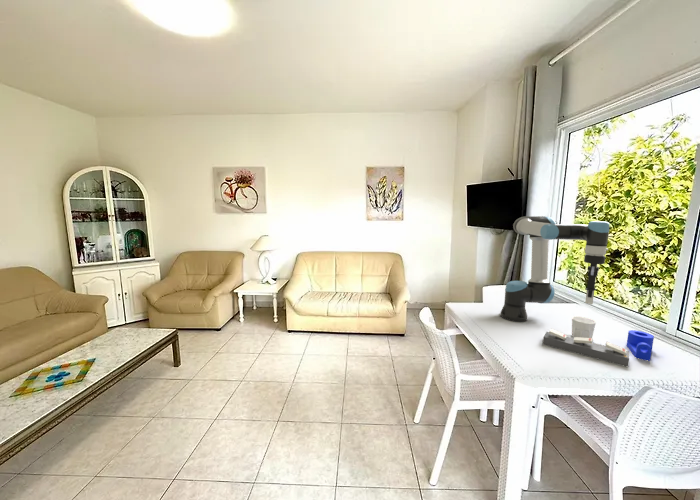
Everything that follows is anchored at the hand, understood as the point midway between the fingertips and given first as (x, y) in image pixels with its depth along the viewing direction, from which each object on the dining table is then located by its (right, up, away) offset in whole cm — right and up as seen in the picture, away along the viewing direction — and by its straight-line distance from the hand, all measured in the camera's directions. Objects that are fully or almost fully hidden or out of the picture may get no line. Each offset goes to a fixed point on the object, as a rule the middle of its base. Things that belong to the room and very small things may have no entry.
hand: (588, 303), depth 140 cm
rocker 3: (+8, -20, -5) cm, 22 cm away
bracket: (+28, -25, +3) cm, 38 cm away
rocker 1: (-8, -18, +10) cm, 22 cm away
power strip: (0, -24, +3) cm, 24 cm away
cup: (+12, -22, +19) cm, 32 cm away
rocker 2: (0, -19, +3) cm, 19 cm away
